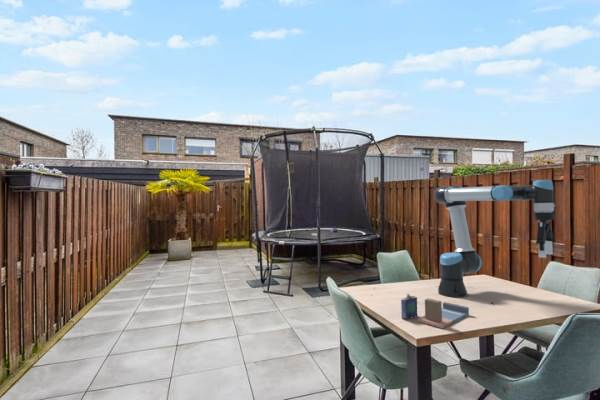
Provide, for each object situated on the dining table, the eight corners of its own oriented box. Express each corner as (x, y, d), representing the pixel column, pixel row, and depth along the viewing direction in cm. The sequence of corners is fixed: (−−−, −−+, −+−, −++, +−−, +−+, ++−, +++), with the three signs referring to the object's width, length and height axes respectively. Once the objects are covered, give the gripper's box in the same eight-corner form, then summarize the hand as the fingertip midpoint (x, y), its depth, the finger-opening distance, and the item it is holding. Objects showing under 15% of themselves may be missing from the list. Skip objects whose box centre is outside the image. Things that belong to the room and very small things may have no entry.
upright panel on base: (417, 321, 134) (417, 299, 135) (428, 316, 140) (427, 295, 140) (442, 328, 126) (441, 304, 126) (452, 323, 131) (451, 300, 132)
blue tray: (428, 317, 140) (428, 309, 140) (445, 309, 150) (445, 302, 150) (452, 323, 132) (452, 315, 132) (468, 315, 142) (468, 307, 142)
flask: (404, 320, 137) (403, 296, 138) (399, 318, 140) (398, 294, 140) (419, 316, 141) (418, 293, 142) (414, 314, 144) (413, 291, 145)
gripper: (547, 212, 135) (549, 260, 135) (559, 211, 152) (561, 253, 151) (527, 212, 141) (529, 258, 141) (540, 211, 157) (542, 252, 157)
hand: (545, 255), depth 146 cm, fingers open, 13 cm apart
